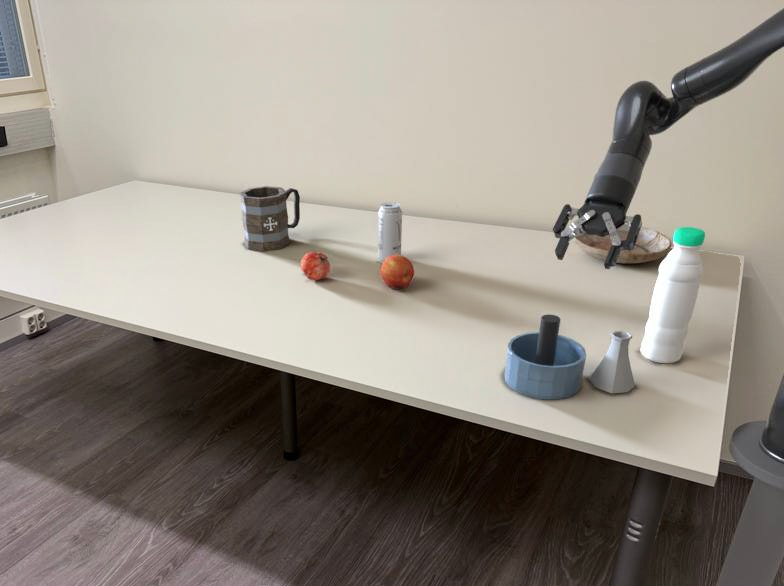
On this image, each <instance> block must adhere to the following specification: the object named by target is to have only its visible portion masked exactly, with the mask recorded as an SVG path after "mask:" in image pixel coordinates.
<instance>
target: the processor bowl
mask: <svg viewBox="0 0 784 586" xmlns="http://www.w3.org/2000/svg"><path fill="white" fill-rule="evenodd" d="M538 336H539V331H536V332H525V333H522V334H518V335H515V336H514V337H513V338H511V339H510V340H509V341H508V343H507V347H506V348H507V349H506V356H505V365H504V376H503V377H504V381H505V383H506V385H508V386H509V388H510V389H512V390H513V391H514V392H517V393H519V394H522V395H523V396H526V397H530V398H534V399H539V400H560V399H566V398H569V397H571V396H573V395H575V394H577V392H578V391H579V390H580V388H581V384H582V381H583V376H584V375H583V374H584V371H585V364H586V359H587V352H586V349H585V347H584V346H583V345H582V344H581V343H579V342H578V341H576V340H574V339H572V338H571V337H568V336H565V335H562V334H558V339H557V346H556V352H555V358H554V365H553V366H547V365H540V364H535V358H536V351H537V344H538Z"/></svg>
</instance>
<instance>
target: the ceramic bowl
mask: <svg viewBox="0 0 784 586" xmlns="http://www.w3.org/2000/svg"><path fill="white" fill-rule="evenodd" d="M628 232H629V228H628V225H627V223H625V224H624V225H623V226H621V227H620V228H618V229H617V233H618V236H619V238H620V241H622V240H626V238H627V235H628ZM572 240H573V242H574V244H575V245H576V247H577V248H578V249H580V250H581V251H582V252H584V253H585V254H586V255H588V256H590V257H593V258H595V259H598V260H601V261H605V260H606V257H607V255H608V252H609V250H610V248H611V246H613V244H612V242H611V239H610V237H609V235H607V236H604V237H600V236H598V235H588V234H587V233H586V232H585V233H583V234H582V235H580V236H579V237H575V238H573V239H572ZM671 249H672V241H671V239H670V238H669V237H668V236H666V235H665V234H663V233H662V232H660V231H657V230H655V229H651V228H648V227H644V226H641V229H640V232H639V235H638V238H637V241H636V244H635V247H634V249H633V250H631V251H629V250H623V251H621V252H620V254H619V257H618V259H617V261H616V264H641V263H648V262H653V261H656V260H658V259H660V258H662V257H664V256H665V255H667V254H668V253H669V252H670V251H671Z"/></svg>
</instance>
